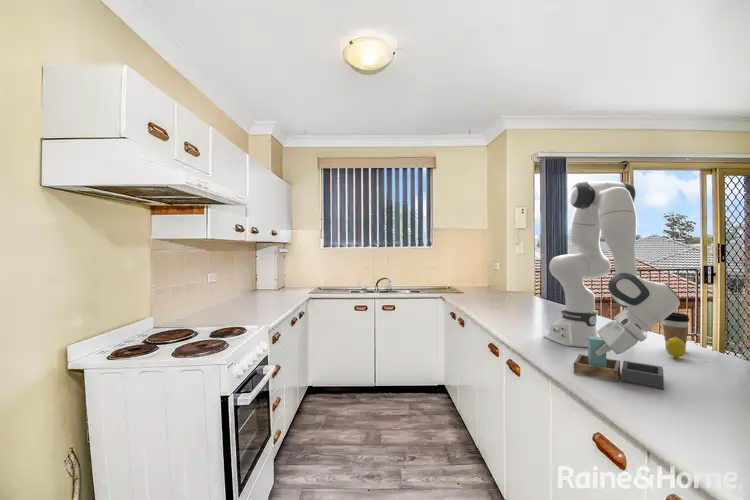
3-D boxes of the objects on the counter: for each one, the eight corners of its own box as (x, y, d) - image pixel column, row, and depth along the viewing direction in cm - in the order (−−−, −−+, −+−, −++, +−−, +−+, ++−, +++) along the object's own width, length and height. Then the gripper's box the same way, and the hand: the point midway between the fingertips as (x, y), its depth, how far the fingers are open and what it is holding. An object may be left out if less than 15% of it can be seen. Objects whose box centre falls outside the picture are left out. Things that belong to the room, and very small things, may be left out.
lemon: (689, 360, 124) (689, 339, 124) (672, 360, 126) (671, 338, 125) (679, 356, 130) (678, 335, 130) (662, 355, 131) (662, 334, 131)
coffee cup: (660, 346, 143) (660, 310, 143) (687, 349, 138) (687, 312, 138) (663, 351, 136) (662, 313, 136) (691, 354, 131) (691, 315, 131)
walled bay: (573, 373, 114) (573, 363, 114) (579, 363, 123) (579, 354, 123) (617, 382, 106) (617, 370, 106) (620, 371, 116) (620, 360, 116)
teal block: (588, 364, 118) (587, 335, 118) (603, 366, 116) (603, 337, 116) (590, 369, 114) (590, 339, 114) (606, 370, 112) (606, 340, 112)
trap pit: (621, 381, 107) (621, 369, 107) (623, 372, 114) (623, 360, 114) (663, 389, 100) (663, 376, 100) (662, 379, 108) (662, 366, 108)
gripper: (613, 311, 121) (582, 336, 125) (629, 323, 103) (592, 352, 107) (629, 325, 120) (596, 350, 124) (648, 340, 101) (609, 368, 105)
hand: (594, 351), depth 115 cm, fingers closed on teal block, 4 cm apart
